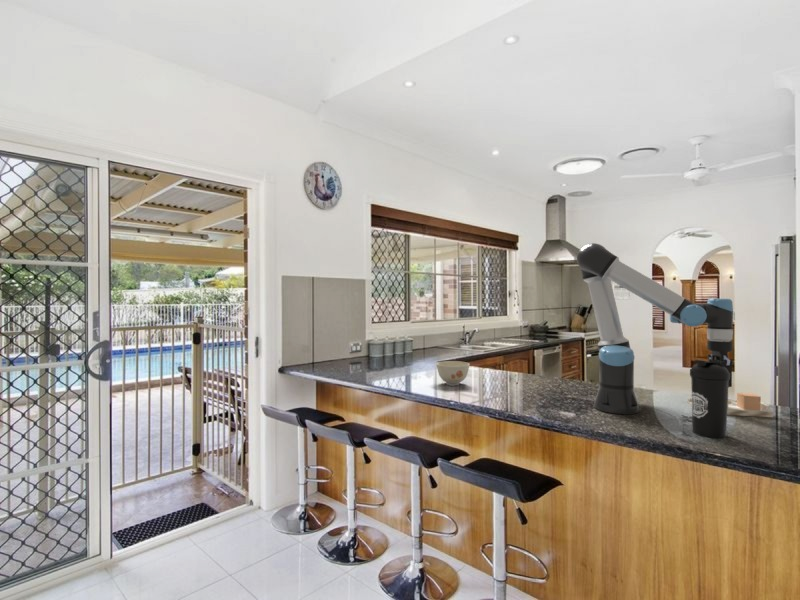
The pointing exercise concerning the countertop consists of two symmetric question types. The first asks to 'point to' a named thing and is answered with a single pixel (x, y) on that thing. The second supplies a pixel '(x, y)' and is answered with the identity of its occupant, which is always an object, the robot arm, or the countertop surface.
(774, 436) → the countertop surface
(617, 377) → the robot arm
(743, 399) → the block
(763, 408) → the strip
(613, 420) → the countertop surface
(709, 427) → the water bottle
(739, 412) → the lane board
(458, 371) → the bowl
